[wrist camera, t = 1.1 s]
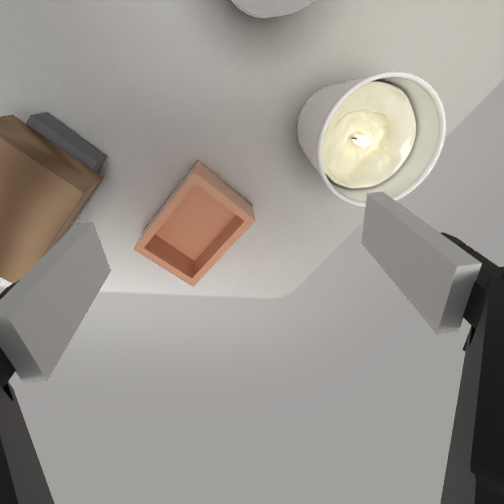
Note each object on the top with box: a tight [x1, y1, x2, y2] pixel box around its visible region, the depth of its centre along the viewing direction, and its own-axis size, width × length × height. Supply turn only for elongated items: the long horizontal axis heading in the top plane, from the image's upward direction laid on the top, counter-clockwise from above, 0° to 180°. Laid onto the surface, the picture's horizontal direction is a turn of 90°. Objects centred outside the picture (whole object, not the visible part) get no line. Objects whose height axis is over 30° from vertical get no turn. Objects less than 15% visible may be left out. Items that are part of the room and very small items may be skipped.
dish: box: [134, 161, 255, 287], centre depth 36 cm, size 8×11×5 cm
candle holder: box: [297, 72, 446, 207], centre depth 29 cm, size 10×10×12 cm
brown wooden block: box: [0, 115, 103, 284], centre depth 30 cm, size 9×13×5 cm
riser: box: [26, 113, 107, 173], centre depth 34 cm, size 7×15×3 cm, turn 138°
